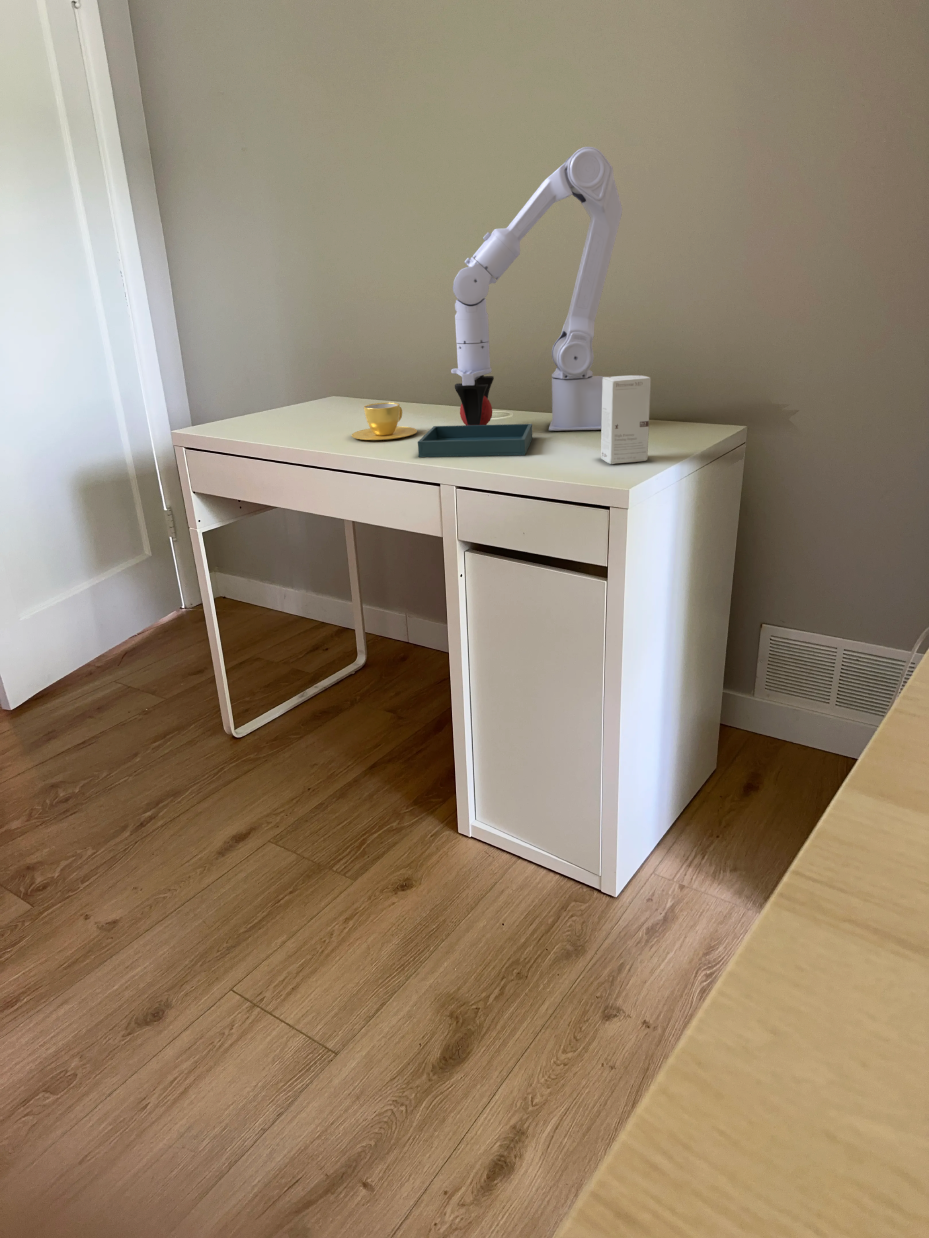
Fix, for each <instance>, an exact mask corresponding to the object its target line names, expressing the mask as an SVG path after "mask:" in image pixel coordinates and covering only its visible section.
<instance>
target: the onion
mask: <svg viewBox="0 0 929 1238" xmlns="http://www.w3.org/2000/svg"><path fill="white" fill-rule="evenodd" d="M459 415H460V419H461V421H462V423H463V424H464V425H468V423H467V420H466V417H465V412H464V408H463V405H462V403H460V408H459ZM492 417H493V406H492V403H491V401H490V400H489V398H488V399H487V398H486V397H485V396H484V398H483V403H482V414H481V421H480V424H479V425H489V422H490V421H491V420H492Z"/></svg>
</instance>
